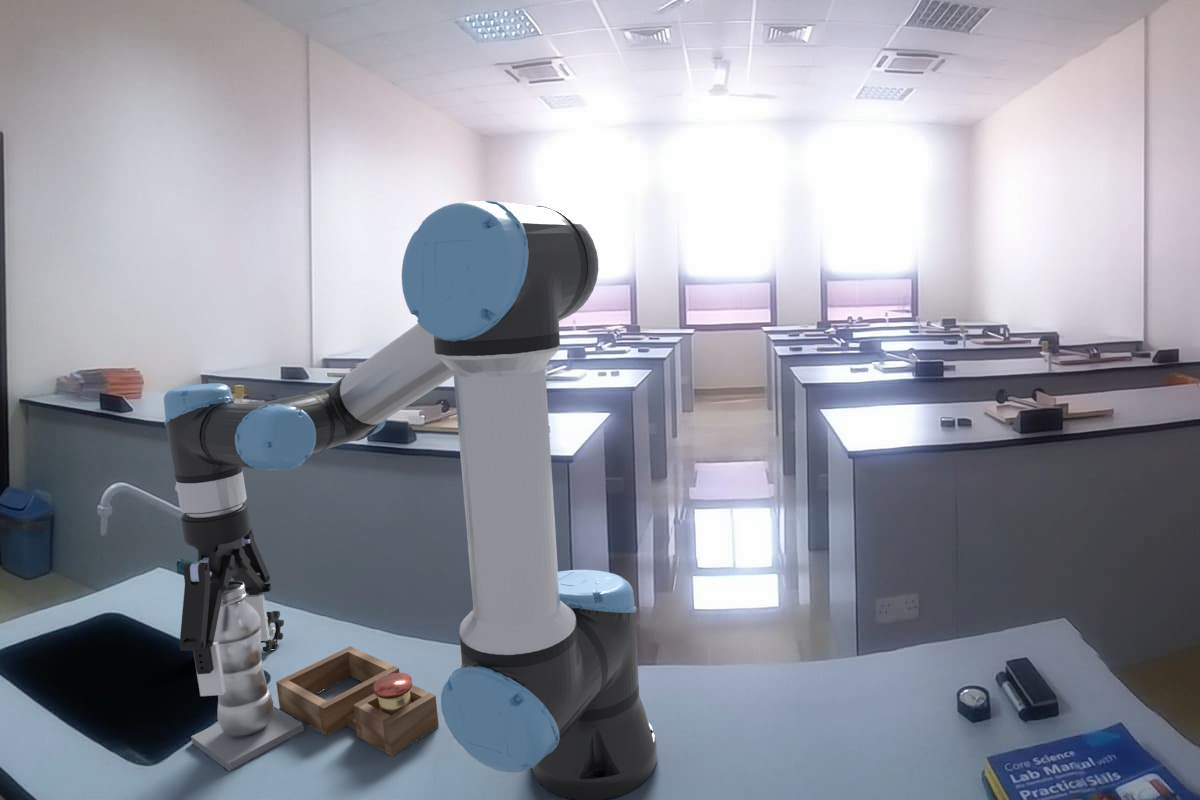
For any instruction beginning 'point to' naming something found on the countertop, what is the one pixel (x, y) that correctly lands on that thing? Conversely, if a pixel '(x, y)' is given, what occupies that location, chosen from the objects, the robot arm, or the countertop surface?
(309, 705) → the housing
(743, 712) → the countertop surface
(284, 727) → the pad
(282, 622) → the valve
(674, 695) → the countertop surface
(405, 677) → the copper-capped cylinder
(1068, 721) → the countertop surface
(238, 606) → the plastic bottle
